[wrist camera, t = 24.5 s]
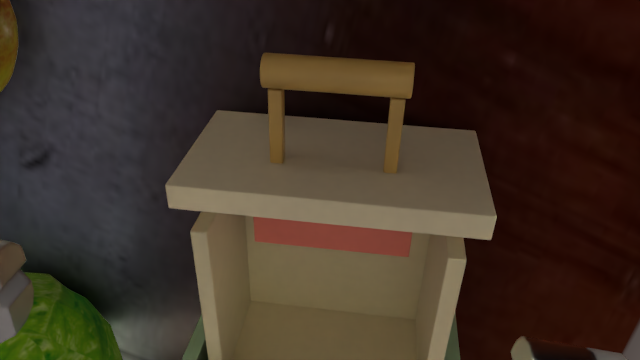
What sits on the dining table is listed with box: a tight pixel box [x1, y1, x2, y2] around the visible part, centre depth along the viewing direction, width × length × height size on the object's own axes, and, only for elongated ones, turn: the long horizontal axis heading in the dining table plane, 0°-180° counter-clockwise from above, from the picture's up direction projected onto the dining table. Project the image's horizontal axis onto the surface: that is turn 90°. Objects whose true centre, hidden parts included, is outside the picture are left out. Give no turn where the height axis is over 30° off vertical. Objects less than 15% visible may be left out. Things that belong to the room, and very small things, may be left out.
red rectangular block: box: [253, 217, 412, 257], centre depth 27 cm, size 8×3×3 cm, turn 89°
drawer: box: [165, 53, 497, 360], centre depth 26 cm, size 18×13×7 cm
